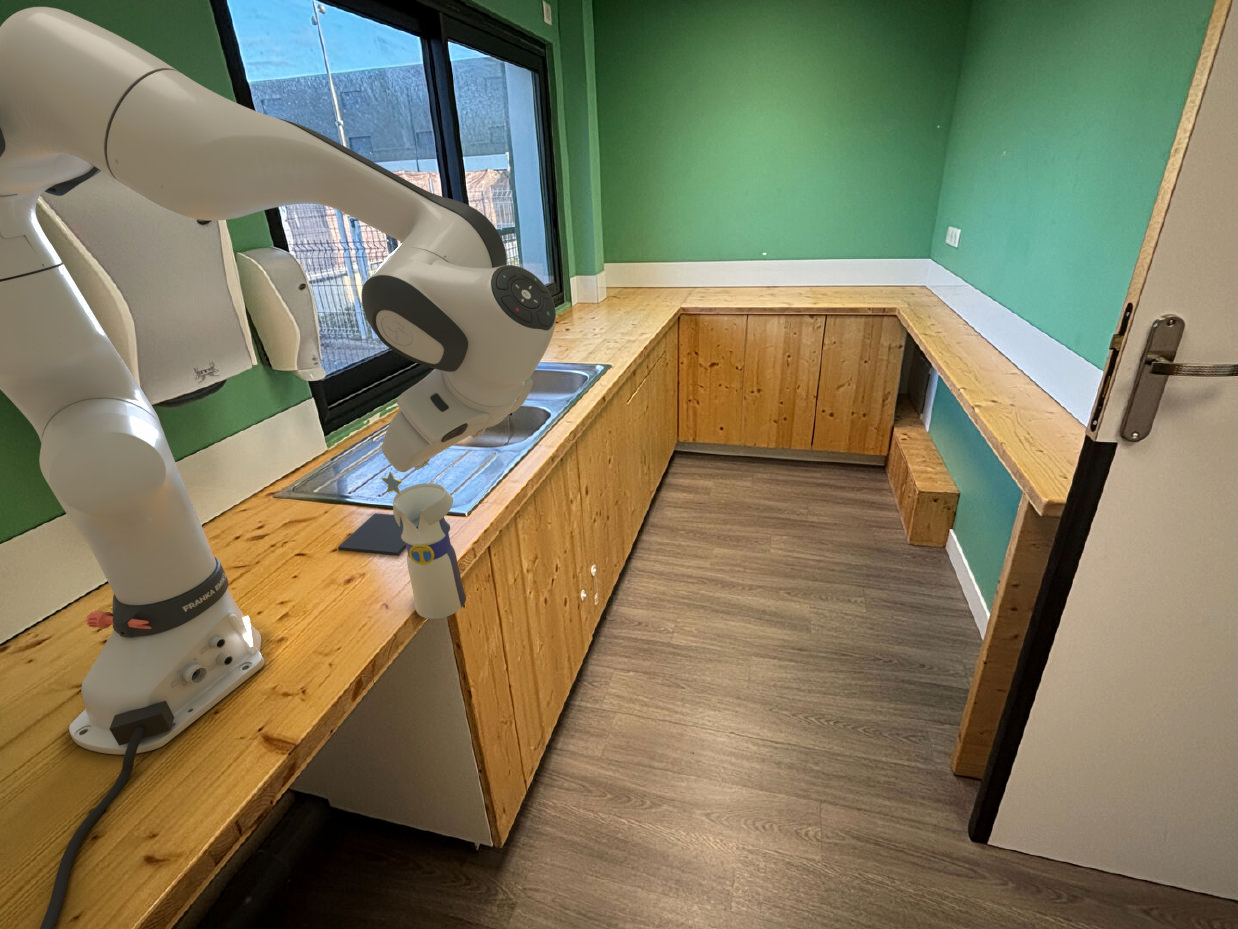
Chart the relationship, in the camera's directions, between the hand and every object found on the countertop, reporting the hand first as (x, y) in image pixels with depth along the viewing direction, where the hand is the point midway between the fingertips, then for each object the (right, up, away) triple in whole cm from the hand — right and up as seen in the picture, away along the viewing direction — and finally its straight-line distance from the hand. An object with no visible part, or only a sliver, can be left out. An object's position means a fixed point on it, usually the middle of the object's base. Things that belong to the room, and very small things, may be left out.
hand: (447, 447), depth 79 cm
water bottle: (-5, -24, +15) cm, 29 cm away
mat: (-21, -15, +34) cm, 43 cm away
